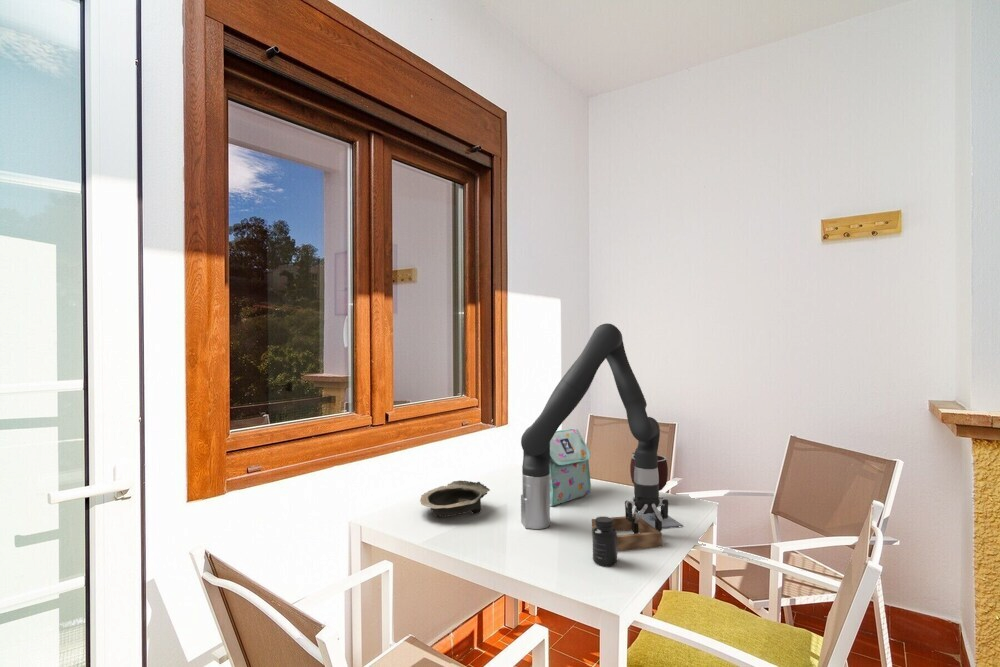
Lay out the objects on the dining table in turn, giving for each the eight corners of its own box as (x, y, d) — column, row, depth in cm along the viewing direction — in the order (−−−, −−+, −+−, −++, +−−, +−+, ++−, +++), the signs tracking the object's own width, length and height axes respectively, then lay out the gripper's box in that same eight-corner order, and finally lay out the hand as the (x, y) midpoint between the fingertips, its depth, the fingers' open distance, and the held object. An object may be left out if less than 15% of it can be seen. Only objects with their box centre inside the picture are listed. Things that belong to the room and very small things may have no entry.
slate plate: (644, 530, 167) (644, 528, 167) (625, 515, 181) (625, 514, 181) (683, 526, 170) (682, 525, 170) (661, 512, 184) (661, 511, 184)
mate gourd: (647, 494, 206) (647, 444, 206) (676, 503, 194) (675, 450, 194) (619, 501, 198) (619, 449, 198) (647, 511, 186) (647, 456, 186)
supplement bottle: (599, 554, 149) (599, 513, 149) (621, 560, 145) (621, 518, 145) (588, 562, 144) (587, 519, 144) (610, 569, 140) (609, 525, 140)
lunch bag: (554, 509, 189) (553, 436, 189) (524, 498, 201) (523, 430, 202) (594, 496, 203) (594, 429, 203) (564, 487, 216) (564, 423, 216)
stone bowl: (499, 505, 192) (498, 481, 192) (468, 534, 170) (467, 507, 169) (443, 496, 203) (442, 474, 202) (406, 522, 180) (405, 497, 180)
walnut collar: (612, 551, 151) (612, 537, 151) (591, 531, 167) (591, 519, 167) (661, 546, 154) (661, 533, 155) (637, 527, 170) (637, 515, 170)
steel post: (651, 520, 174) (651, 500, 174) (648, 518, 177) (647, 498, 177) (658, 520, 175) (658, 499, 175) (654, 517, 177) (654, 497, 177)
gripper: (630, 485, 157) (631, 539, 157) (673, 482, 160) (673, 535, 160) (620, 479, 165) (620, 530, 164) (660, 476, 168) (661, 526, 167)
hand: (647, 532), depth 162 cm, fingers open, 7 cm apart
